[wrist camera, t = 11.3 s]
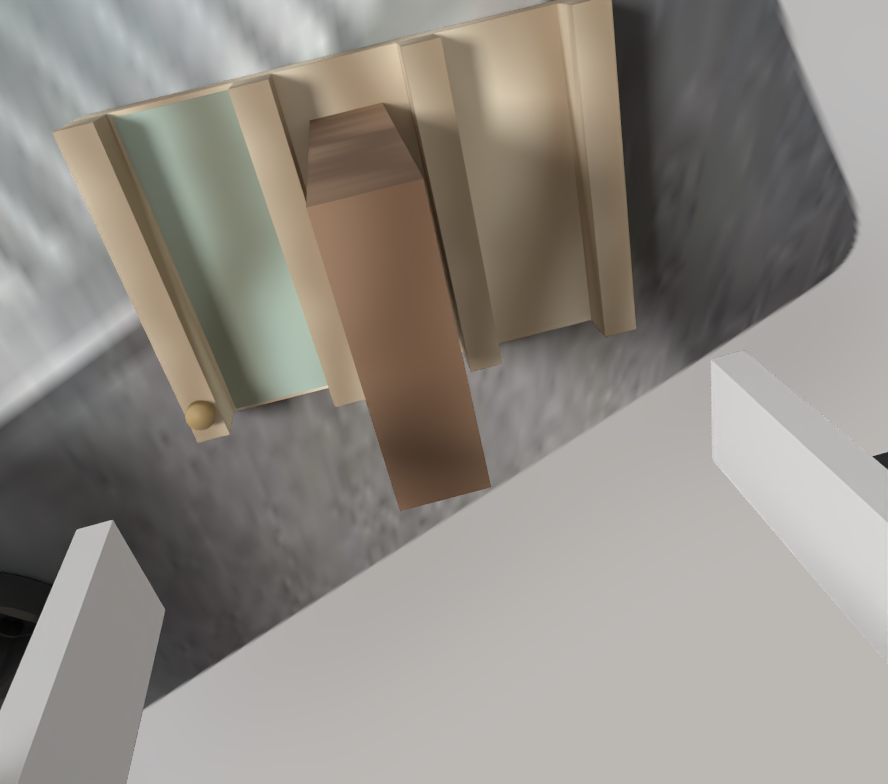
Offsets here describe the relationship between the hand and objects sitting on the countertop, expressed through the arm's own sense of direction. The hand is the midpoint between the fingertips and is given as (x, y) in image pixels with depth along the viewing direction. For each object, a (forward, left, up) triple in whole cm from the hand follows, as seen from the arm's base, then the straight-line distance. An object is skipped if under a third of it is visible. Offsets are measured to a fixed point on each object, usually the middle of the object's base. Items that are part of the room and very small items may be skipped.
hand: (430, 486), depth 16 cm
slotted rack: (0, 0, -20) cm, 20 cm away
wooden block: (0, 0, -19) cm, 19 cm away
